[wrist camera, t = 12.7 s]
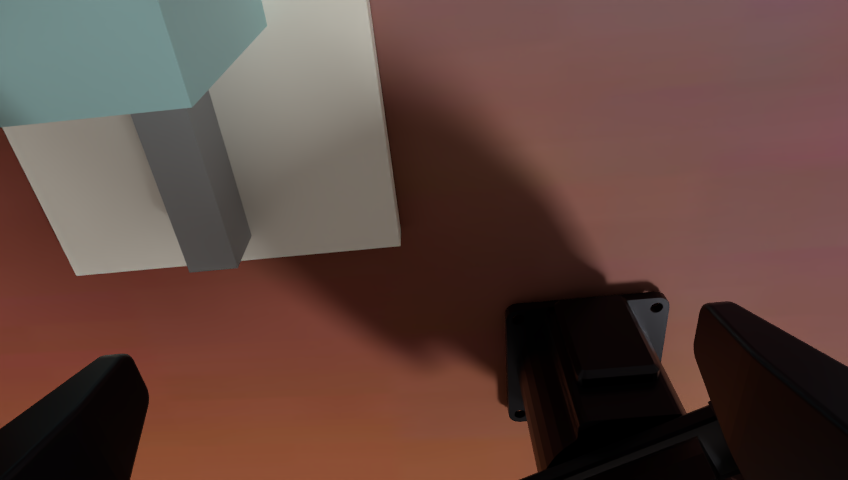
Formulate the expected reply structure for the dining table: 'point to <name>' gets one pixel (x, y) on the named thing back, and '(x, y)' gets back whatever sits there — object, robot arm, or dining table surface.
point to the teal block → (116, 55)
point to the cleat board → (232, 158)
